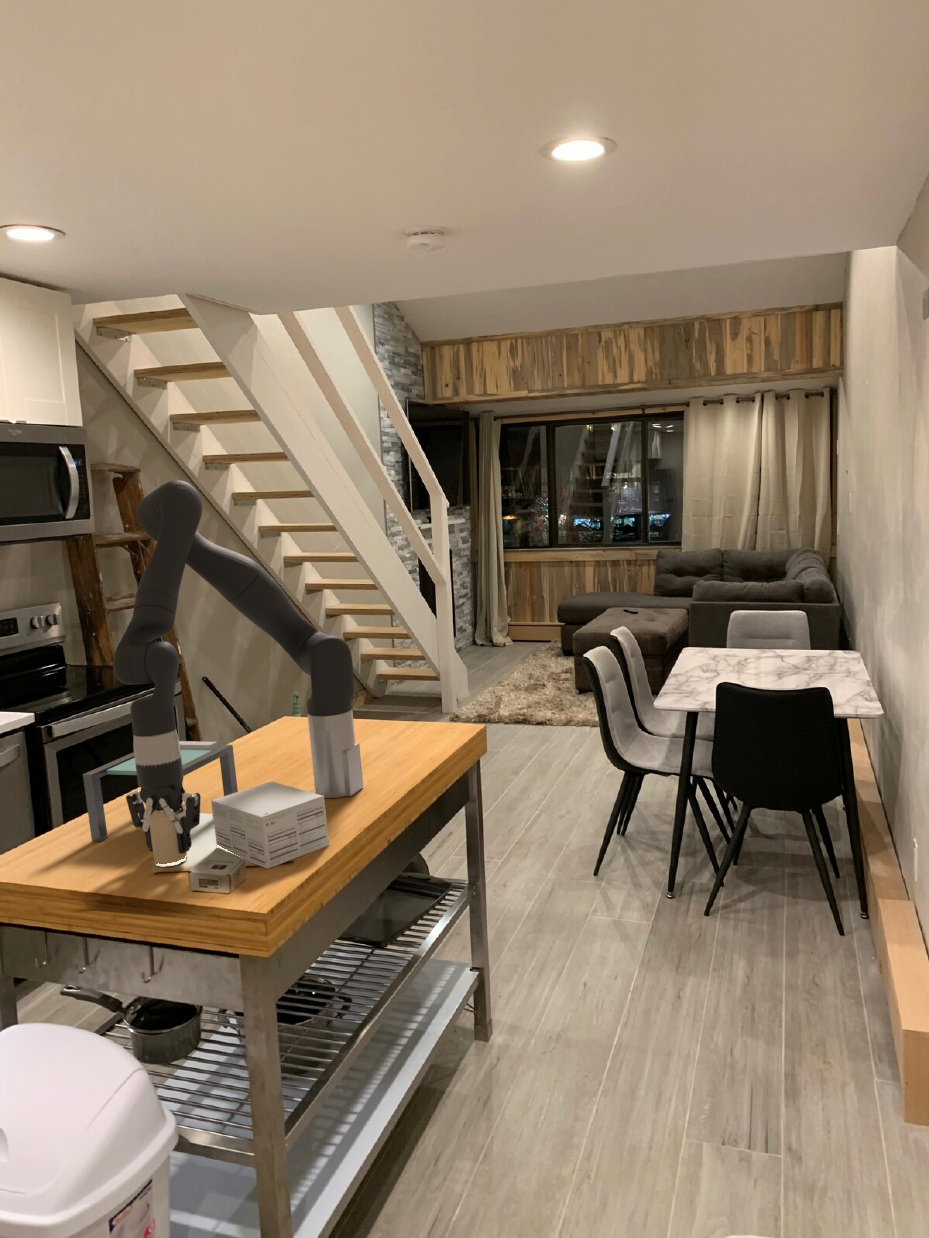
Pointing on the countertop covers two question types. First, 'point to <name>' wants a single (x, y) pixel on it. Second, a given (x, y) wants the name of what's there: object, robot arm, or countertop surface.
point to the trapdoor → (188, 753)
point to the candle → (164, 838)
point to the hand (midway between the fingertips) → (169, 850)
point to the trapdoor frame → (93, 776)
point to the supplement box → (270, 823)
